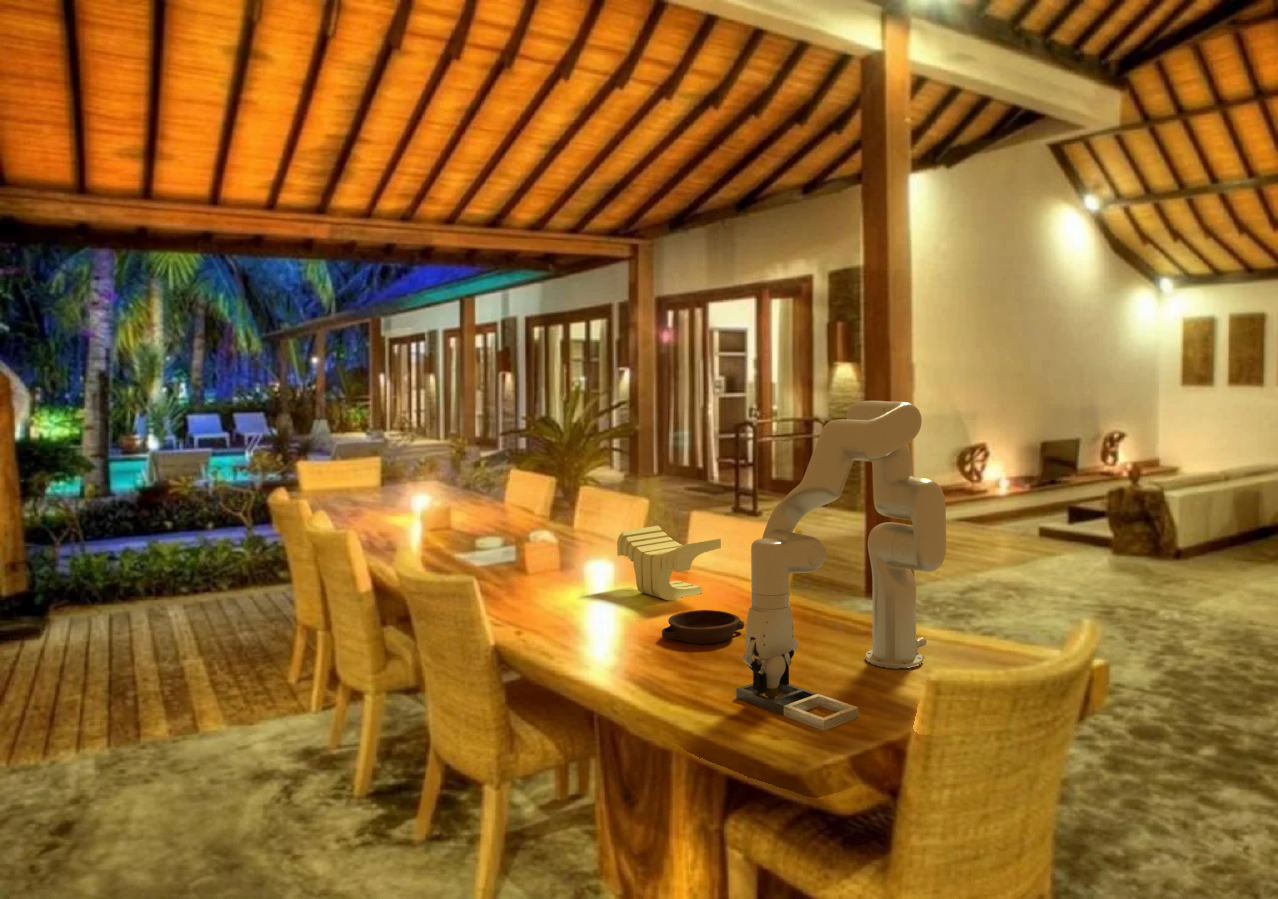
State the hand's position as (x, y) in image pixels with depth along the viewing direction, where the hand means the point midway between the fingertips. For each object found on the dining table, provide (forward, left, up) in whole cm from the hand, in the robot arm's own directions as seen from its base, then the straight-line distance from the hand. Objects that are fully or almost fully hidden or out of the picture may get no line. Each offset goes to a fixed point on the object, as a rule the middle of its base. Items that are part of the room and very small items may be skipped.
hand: (771, 686), depth 187 cm
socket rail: (0, +6, -3) cm, 7 cm away
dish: (-19, -41, -3) cm, 45 cm away
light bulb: (0, 0, -3) cm, 3 cm away
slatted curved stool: (-41, -81, -3) cm, 91 cm away
